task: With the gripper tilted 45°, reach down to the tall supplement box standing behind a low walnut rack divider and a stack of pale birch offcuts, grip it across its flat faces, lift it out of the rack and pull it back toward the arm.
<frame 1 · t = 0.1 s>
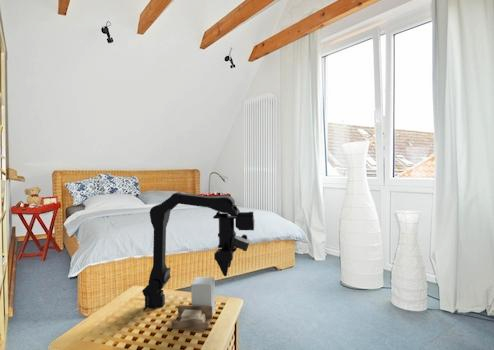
hand: (227, 271, 123), 15 cm above the table, tool pointing down, fingers open, 9 cm apart
walnut rack: (192, 319, 117), on the table
offcut stack: (192, 322, 112), point 1 cm above the table, touching walnut rack
supplement box: (203, 314, 121), on the table
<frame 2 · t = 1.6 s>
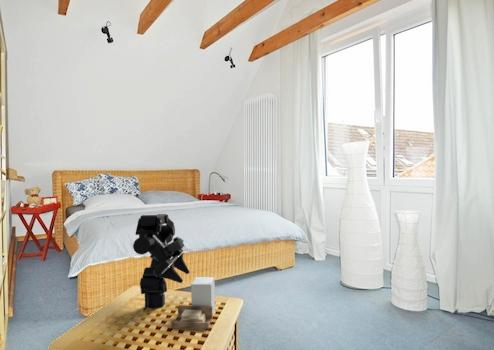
hand: (185, 277, 120), 14 cm above the table, tool tilted 45°, fingers open, 9 cm apart
nothing on the table moved.
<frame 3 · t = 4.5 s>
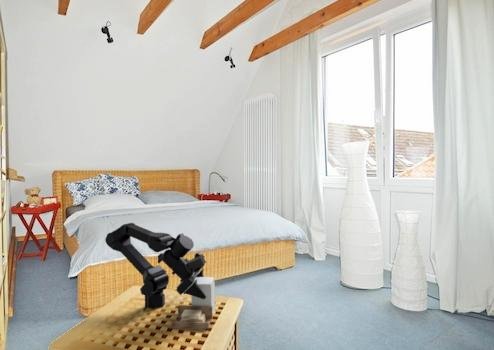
hand: (207, 293, 120), 8 cm above the table, tool tilted 45°, fingers closed on supplement box, 7 cm apart
supplement box: (203, 314, 121), on the table, touching gripper
everything else where it was.
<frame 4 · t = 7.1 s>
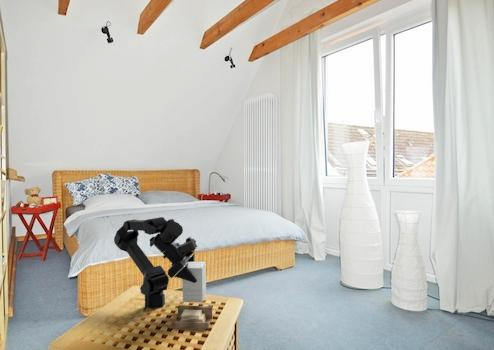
hand: (198, 277, 121), 13 cm above the table, tool tilted 45°, fingers closed on supplement box, 7 cm apart
supplement box: (194, 298, 121), point 5 cm above the table, touching gripper
everything else where it was.
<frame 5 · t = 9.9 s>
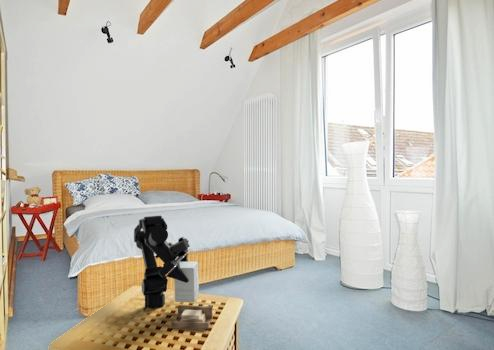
hand: (190, 277, 121), 13 cm above the table, tool tilted 45°, fingers closed on supplement box, 7 cm apart
supplement box: (187, 298, 121), point 6 cm above the table, touching gripper
everything else where it was.
at the end: the gripper is holding supplement box; supplement box point 5.6 cm above the table; supplement box moved 8.2 cm from its start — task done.
